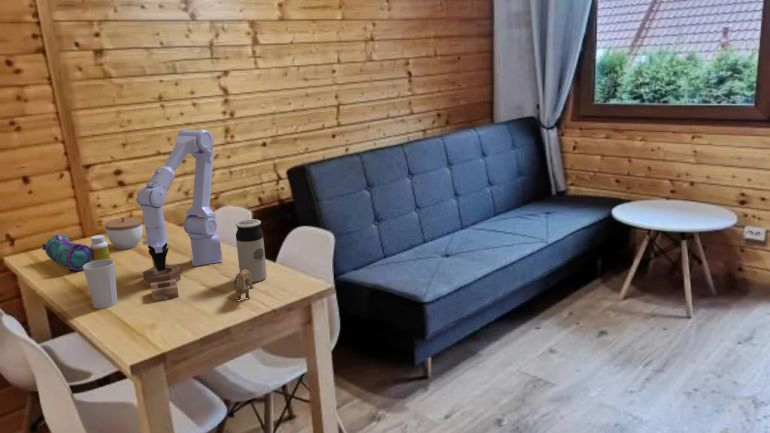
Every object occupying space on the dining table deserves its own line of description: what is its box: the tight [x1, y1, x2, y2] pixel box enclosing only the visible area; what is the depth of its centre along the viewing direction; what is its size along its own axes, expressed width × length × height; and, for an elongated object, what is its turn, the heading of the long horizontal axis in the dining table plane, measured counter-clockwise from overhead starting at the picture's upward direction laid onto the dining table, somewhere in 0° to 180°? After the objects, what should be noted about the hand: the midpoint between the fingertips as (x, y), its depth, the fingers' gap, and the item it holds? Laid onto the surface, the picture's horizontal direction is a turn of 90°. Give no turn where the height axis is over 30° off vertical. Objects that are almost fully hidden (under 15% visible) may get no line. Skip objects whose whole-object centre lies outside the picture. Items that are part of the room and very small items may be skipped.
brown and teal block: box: [151, 257, 167, 275], centre depth 185 cm, size 4×4×10 cm
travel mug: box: [235, 218, 268, 283], centre depth 183 cm, size 8×8×18 cm
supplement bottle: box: [89, 234, 111, 261], centre depth 202 cm, size 5×5×10 cm
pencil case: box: [42, 233, 93, 272], centre depth 203 cm, size 21×9×10 cm, turn 49°
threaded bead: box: [150, 279, 179, 302], centre depth 175 cm, size 7×7×3 cm
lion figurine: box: [233, 269, 254, 301], centre depth 172 cm, size 15×5×9 cm, turn 15°
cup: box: [83, 258, 119, 309], centre depth 169 cm, size 8×8×12 cm
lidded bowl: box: [104, 216, 144, 250], centre depth 221 cm, size 13×13×11 cm
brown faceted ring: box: [142, 264, 182, 287], centre depth 186 cm, size 10×10×3 cm
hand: (161, 268), depth 186 cm, fingers closed on brown and teal block, 3 cm apart
